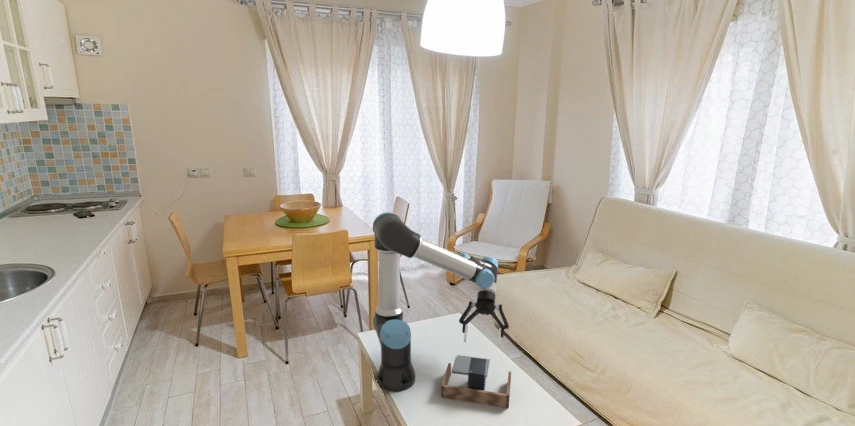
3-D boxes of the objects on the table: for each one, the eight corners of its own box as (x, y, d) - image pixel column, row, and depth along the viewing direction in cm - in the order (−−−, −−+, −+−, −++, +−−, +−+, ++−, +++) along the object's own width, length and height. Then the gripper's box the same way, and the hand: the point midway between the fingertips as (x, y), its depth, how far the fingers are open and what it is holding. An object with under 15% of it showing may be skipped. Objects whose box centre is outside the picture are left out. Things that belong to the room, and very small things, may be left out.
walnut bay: (440, 397, 162) (441, 385, 161) (448, 373, 176) (448, 363, 175) (508, 408, 156) (509, 396, 155) (510, 382, 171) (511, 371, 169)
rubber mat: (452, 372, 177) (452, 371, 177) (457, 356, 189) (457, 355, 188) (486, 377, 174) (486, 375, 174) (489, 360, 185) (489, 359, 185)
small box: (484, 399, 161) (485, 374, 159) (466, 397, 162) (467, 372, 160) (486, 382, 171) (487, 358, 169) (469, 380, 172) (470, 356, 170)
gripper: (516, 298, 184) (513, 349, 173) (458, 293, 189) (452, 341, 179) (516, 292, 177) (513, 344, 167) (456, 286, 183) (450, 336, 172)
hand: (481, 343), depth 173 cm, fingers open, 13 cm apart
